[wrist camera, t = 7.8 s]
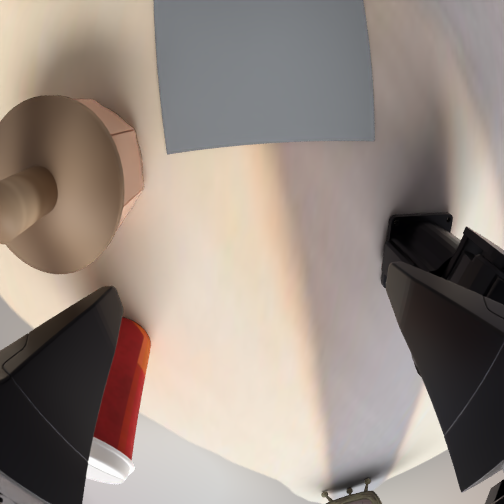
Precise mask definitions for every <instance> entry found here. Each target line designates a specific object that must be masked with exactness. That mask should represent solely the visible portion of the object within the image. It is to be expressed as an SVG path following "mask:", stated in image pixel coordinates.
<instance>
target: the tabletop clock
mask: <svg viewBox="0 0 504 504" xmlns="http://www.w3.org/2000/svg"><path fill="white" fill-rule="evenodd" d="M364 482H365V484H366V486H365V489H364V492H359V493H356V494H352V495H351V493H352V492H353V490H352V489H351V488H349V489H347V493H348V494H349V495H348V496H345V497H342V498H339V499H336V500H332V499H331V498H330V497H329V496H328V492H323V493H322V497H326V498H327V499H328V500H329V502H328V503H326V504H382V502H381V501H380V499H379V497H378V496H377V494H375V492H374V491H368V484H370V482H371V479H369V478H367V479H365V481H364Z"/></svg>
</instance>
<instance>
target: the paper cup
mask: <svg viewBox="0 0 504 504" xmlns="http://www.w3.org/2000/svg"><path fill="white" fill-rule="evenodd" d="M150 346H151V343H150V339H149V336H148V334H147V333H146V331H145V330H144V329H143V328H142V327H141V326H140V325H138V324H137V323H135V322H134V321H132V320H130V319H127V318H124V317H122V320H121V325H120V330H119V335H118V340H117V345H116V350H115V354H114V357H113V361H112V364H111V368H110V371H109V375H108V378H107V382H106V386H105V390H104V393H103V397H102V401H101V405H100V409H99V414H98V418H97V422H96V427H95V431H94V436H93V441H92V446H91V451H90V456H89V461H87V462H88V468H87V474H86V478H89V479H92V480H95V481H99V482H103V483H109V484H121V483H123V482H124V480H125V479H126V478H127V477H128V475H129V474H130V473H132V472H133V471H134V469H135V466H134V463H133V462H132V461H131V460H132V452H133V445H134V438H135V432H136V425H137V419H138V413H139V408H140V402H141V396H142V391H143V385H144V380H145V375H146V369H147V364H148V359H149V353H150Z"/></svg>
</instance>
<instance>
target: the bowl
mask: <svg viewBox="0 0 504 504" xmlns="http://www.w3.org/2000/svg"><path fill="white" fill-rule="evenodd" d="M74 100H77V101H79V102H80V103H82V104H84V105H85V106H87V107H88V108H89V109H91V110H92V111H93V112H94V113H95V114H96V115H97V116H98V117H99V118H100V119H101V121H102V122H103V123H104V125H105V126H106V128H107V129H108V131H109V132H110V134H111V136H112V138H113V140H114V142H115V144H116V147H117V150H118V153H119V155H120V159H121V164H122V168H123V175H124V191H125V195H124V206H123V211H122V216H121V220H120V223H119V225H118V228H119V227H120V225H121V223H122V222H123V220H124V219H125V217H126V215H127V214H128V213H129V211H130V210H131V209H132V207H133V205H134V204H135V202H136V200H137V198H138V197H139V195H140V194H141V192H142V191H143V189H144V183H143V177H142V173H143V166H142V157H141V152H140V148H139V145H138V142H137V139H136V131H133V130H134V128H133V127H131V126H130V125H128V124H127V123H126V122H125V121H124V120H123V119H122V118H121V117H120V116H119V115H117V114H116V113H115V112H113V111H111V110H110V109H108V108H105V107H103V106H102V105H101V104H99V103H98V102H96V101H95V100H94V99H74ZM118 228H117V230H118Z"/></svg>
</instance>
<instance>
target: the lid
mask: <svg viewBox="0 0 504 504" xmlns="http://www.w3.org/2000/svg"><path fill="white" fill-rule="evenodd" d="M124 195H125V191H124V175H123V168H122V164H121V159H120V155H119V153H118V150H117V147H116V144H115V142H114V140H113V138H112V136H111V134H110V132H109V131H108V129H107V128H106V126H105V125H104V123H103V122H102V121H101V119H100V118H99V117H98V116H97V115H96V114H95V113H94V112H93V111H92V110H91V109H89V108H88V107H87V106H85V105H84V104H82V103H80V102H79V101H77V100H74V99H71V98H69V97H64V96H38V97H34V98H31V99H28V100H26V101H23V102H22V103H20V104H18V105H17V106H15V107H14V108H13V109H12V110H11V111H9V112H8V113H7V114H6V116H5V117H4V118H3V119H2V120H1V122H0V244H6V246H7V247H8V248H9V249H10V250H11V251H12V252H13V253H14V254H15V255H16V256H17V257H18V258H19V259H21V260H22V261H23V262H25V263H26V264H28V265H30V266H31V267H33V268H35V269H38V270H40V271H43V272H47V273H52V274H68V273H73V272H76V271H79V270H81V269H83V268H85V267H87V266H89V265H90V264H91V263H92V262H94V261H95V260H96V259H97V258H98V257H99V256H100V254H101V253H102V252H103V251H104V250H105V249H106V247H107V246H108V245H109V243H110V242H111V240H112V239H113V237H114V235H115V233H116V231H117V228H118V225H119V223H120V220H121V216H122V211H123V206H124Z"/></svg>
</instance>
